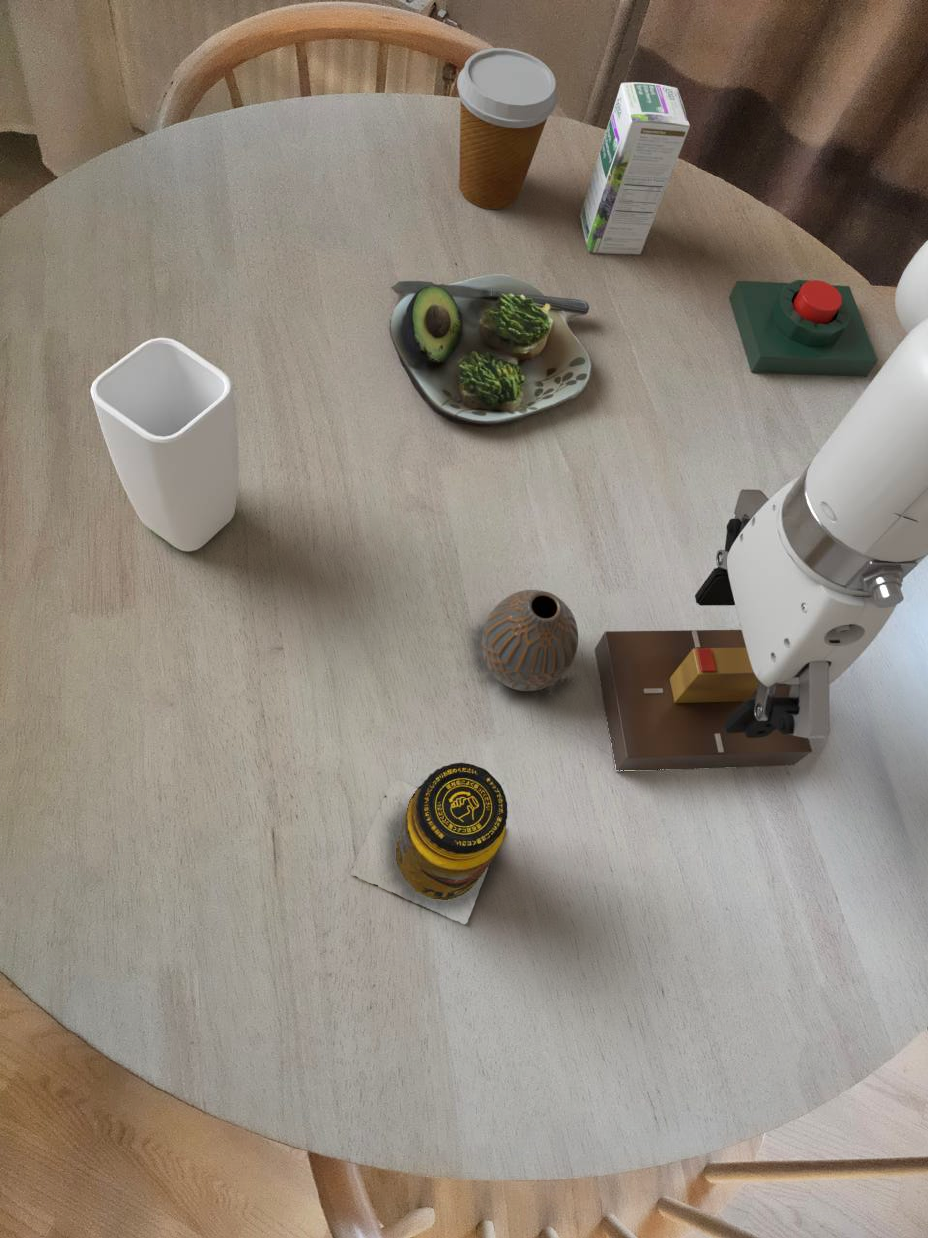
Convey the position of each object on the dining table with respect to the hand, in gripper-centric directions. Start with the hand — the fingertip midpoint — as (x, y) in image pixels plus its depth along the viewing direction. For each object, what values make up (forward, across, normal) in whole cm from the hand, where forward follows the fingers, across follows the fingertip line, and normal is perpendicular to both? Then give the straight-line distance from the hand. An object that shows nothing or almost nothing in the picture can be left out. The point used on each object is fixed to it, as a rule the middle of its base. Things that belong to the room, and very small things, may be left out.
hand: (730, 662), depth 65 cm
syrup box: (+8, +52, -2) cm, 53 cm away
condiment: (+8, -10, +21) cm, 24 cm away
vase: (+8, +4, +13) cm, 16 cm away
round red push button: (+4, +39, -19) cm, 44 cm away
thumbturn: (+5, 0, 0) cm, 5 cm away
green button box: (+8, +39, -19) cm, 44 cm away
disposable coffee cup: (+8, +58, +10) cm, 60 cm away
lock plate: (+8, 0, 0) cm, 8 cm away
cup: (+8, +17, +38) cm, 42 cm away
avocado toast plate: (+8, +35, +13) cm, 38 cm away
